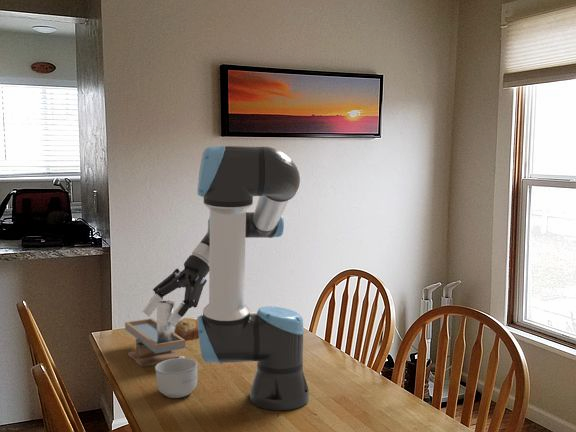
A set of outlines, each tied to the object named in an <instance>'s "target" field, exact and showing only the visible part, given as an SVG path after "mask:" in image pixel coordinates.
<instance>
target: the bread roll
mask: <svg viewBox="0 0 576 432" xmlns="http://www.w3.org/2000/svg"><path fill="white" fill-rule="evenodd" d="M175 334H177V335H178V336H180V337H181V338H183V339H184V340H185V341H190V340H197V339H199V333H198V324H197V319H195V318H193V317H192V318H191V317H184V318H181V319H180V321H179V322H178V323H177V325H176V326H175Z"/></svg>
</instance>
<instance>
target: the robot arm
mask: <svg viewBox="0 0 576 432" xmlns="http://www.w3.org/2000/svg"><path fill="white" fill-rule="evenodd" d="M300 183H301V176H300V172H299V169H298V167H297V166H296V163H295V162H294V160H293V159H291V157H289V156H288V155H287V154H286V153H284V152H283V151H282V150H280V149H277V148H275V147H270V146H245V145H243V146H240V145H239V146H238V145H216V146H215V145H214V146H208V147H205V148H204V150H203V152H202V155H201V160H200V166H199V173H198V183H197V190H196V191H197V195H198V196H199V197H201V198H203V204H204V205H205V207H207V209H209V218H208V221H207V232H206V234H205V235H204V236H203V238H202V239H201V241H200V242H199V243H198V245H196V247H195V248H194V249H193V251H192V252H191V255H189V256H188V257H187V259H186V260H185V262H184V263H183V266H184V269H182V271H181V270H180V269H179V268H175V270H173V272H172V273H171V274H170V275H168V277H167V276H166V278H165V279H163V280H162V281H161V282H160V283H159V284H157V285H156V286H155V287H154V288H152V291H153V292H154V295H153V296H152V297H151V299H150V300H149V302H148V303H147V305H146V306H145V307H144V309H142V312H143V313H144V314H145V316H147V317H148V318H150V317H151V315H152V314H153V313H154V312H155V310H157V302H160V301H164V300H163V299H164V297H165V296H166V295H168V294H170V293H172V292H174V291H175V290H177V289H181V288H184V289H185V291H184V297H183V298H184V299H183V300H182V302H180V303H179V305H178V306H177V307H176V309H174V311H175V312H174V313H173V314H172V316H171V317H170V318H169V320H168V322H169V323H170V324H171V325H172V326H173V327H175V326H176V325H177V323H178V322H179V321H180V320H182V319H183V317H184V316H185V315H186V313H187V312H188V310H189V309H191V308H196V307H197V308H198V306H199V305H198V304H199V301H200V298H201V296H202V293H203V289H204V286H205V285H206V283H207V281H208V280H209V283H208V284H209V285H208V287H209V289H208V292H209V293H208V295H209V296H208V297H209V298H208V299H209V300H208V301H209V302H208V303H207V305H205V306H204V307H203V309H202V315H199V316H197V317H196V320H197V324H198V333H199V338H198V339H199V348H200V354H201V358H202V360H203V361H204V362H205V363H208V364H209V363H210V364H211V363H213V364H214V363H215V364H223V363H225V364H226V363H245V362H247V363H248V362H257V365H256V368H257V369H256V372H255V375H254V378H253V381H252V385H251V386H250V389H249V390H250V391H249V394H250V395H249V400H250V402H251V403H252V404H253V405H254V406H256V407H258V408H261V409H265V410H270V411H290V410H297V409H299V408H302V407H303V406H305V405H306V404H308V402H309V400H310V391H309V387H308V383H307V380H306V377H305V374H304V369H303V364H304V362H303V361H304V359H303V357H304V334H305V331H304V319H303V317H302V315H301V314H300V313H299V312H297V311H296V310H295V311H294V310H292V309H290V308H285V307H279V306H272V305H271V306H269V305H267V306H261V307H259V308H258V309H257V310H256V314H251V309H250V307H249V306H248V305H247V304H245V277H246V276H245V269H246V267H245V266H246V239H247V238H250V239H251V238H252V239H253V238H254V239H256V238H257V239H258V238H262V239H263V238H268V239H272V238H281V237H282V236H283V234H284V228H285V222H284V221H285V220H284V216H283V213H284V212H285V209H286V206H287V204H288V203H289V201H290V200H292V199H293V198H294V197H295V195H296V194H297V192H298V190H299V187H300ZM254 197H258V200H257V204H256V207H255V209H254V212H253V211H251V212H249V211H248V212H247V210H248V209H249V208H250V207H251V206H253V204H254V203H253V202H254V201H253V200H254ZM208 274H209V279H208V280H207V279H206V277H207V275H208Z"/></svg>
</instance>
